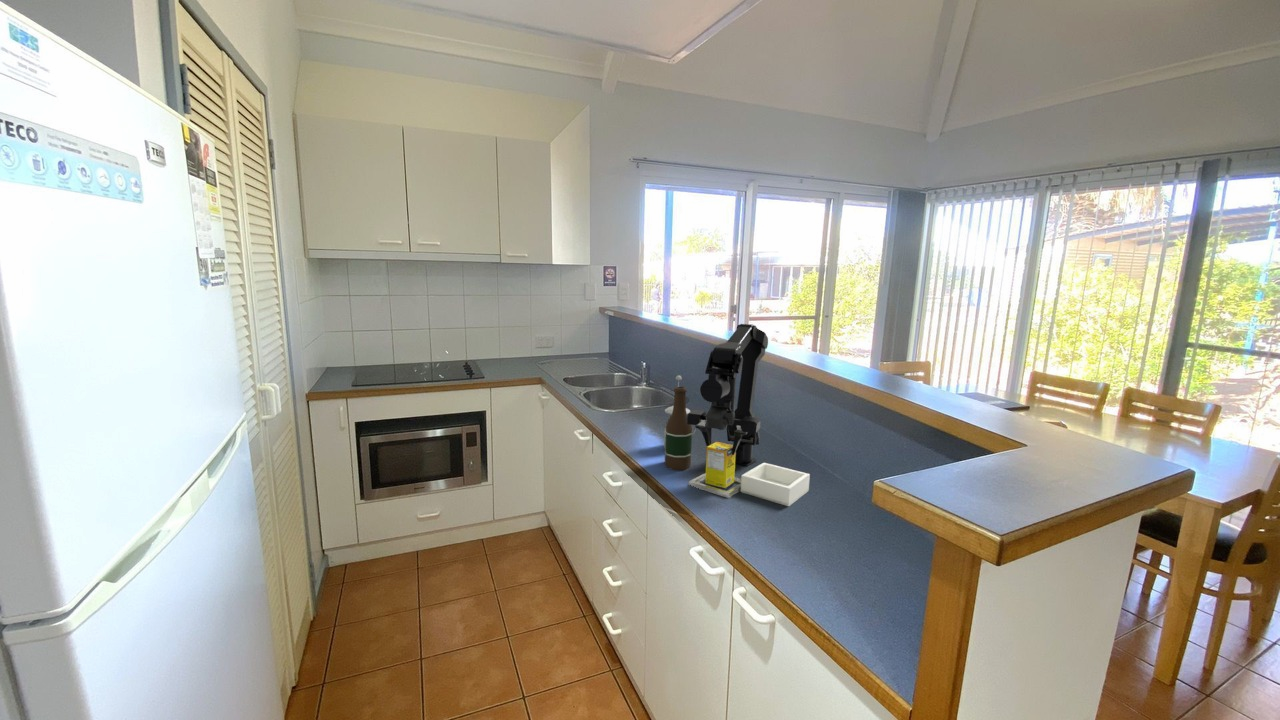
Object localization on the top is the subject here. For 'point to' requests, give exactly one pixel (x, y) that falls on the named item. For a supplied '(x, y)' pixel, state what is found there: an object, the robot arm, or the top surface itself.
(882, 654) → the top surface
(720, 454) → the supplement box
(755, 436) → the robot arm
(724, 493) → the collar
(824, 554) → the top surface
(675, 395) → the beer bottle
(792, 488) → the bin
